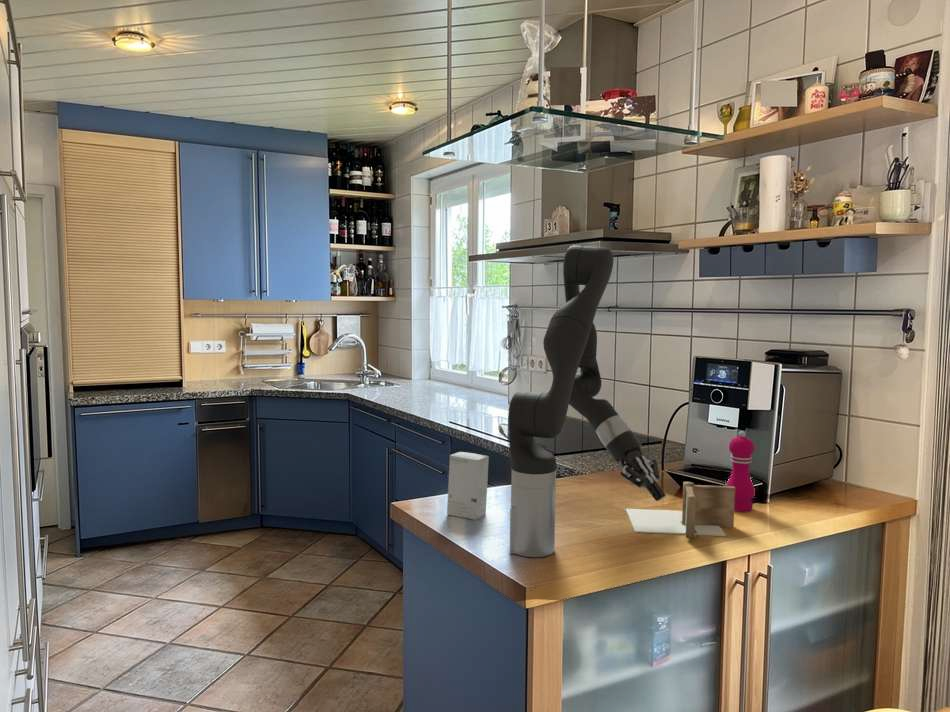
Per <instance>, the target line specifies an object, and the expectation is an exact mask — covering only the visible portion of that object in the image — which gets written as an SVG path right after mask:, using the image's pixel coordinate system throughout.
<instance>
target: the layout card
mask: <svg viewBox="0 0 950 712" xmlns="http://www.w3.org/2000/svg"><path fill="white" fill-rule="evenodd" d="M625 512H626V515H627V516H629V517H628V519H629V522H630V521H631V522H630V524H631V526H632V528H633V531H634V533H637V534H638V533H640V534H643V533H644V534H664V535H665V534H667V535H685V536H686V525H685V524H682V510H670V509H669V510H668V509H647V508H646V509H645V508H643V509H642V508H641V509H640V508H625ZM694 536H711V537H712V536H714V537H726V536H727V534H726V533H725V532H724V531H723V529H722V527H719V525H699V524H695V531H694Z"/></svg>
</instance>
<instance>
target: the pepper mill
mask: <svg viewBox="0 0 950 712" xmlns="http://www.w3.org/2000/svg"><path fill="white" fill-rule="evenodd" d="M737 434H738V436H735V437H733V438H732V439H731V440H730V441H729V444H728V449H729V452H730V453H731V454H730V460H729V461H731V462H732V463H731V464H732V469H731V473H730V476H729V477H730V478H729V477H728V478H729V479H728V481H727V483H726V482H725V486H734V487H735V503H734V512H738V513H739V512H740V513H748V512H752V511H753V507H754V506H753V502H752V500H753V499H754V498H755V497H754V496H755V488H754V485H753V483H752V480H751V478H752V477H751V475H750V465H751V464H752V459H753V458H752V454H753V453H754V452H755V445H754V442H753V440H752V439H751V438H748V437H746V435H747V434H746V431H744V430H740V431H738V433H737Z"/></svg>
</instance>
